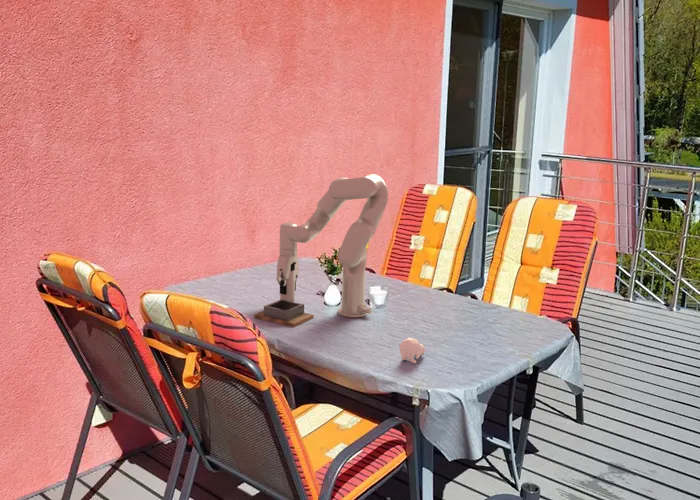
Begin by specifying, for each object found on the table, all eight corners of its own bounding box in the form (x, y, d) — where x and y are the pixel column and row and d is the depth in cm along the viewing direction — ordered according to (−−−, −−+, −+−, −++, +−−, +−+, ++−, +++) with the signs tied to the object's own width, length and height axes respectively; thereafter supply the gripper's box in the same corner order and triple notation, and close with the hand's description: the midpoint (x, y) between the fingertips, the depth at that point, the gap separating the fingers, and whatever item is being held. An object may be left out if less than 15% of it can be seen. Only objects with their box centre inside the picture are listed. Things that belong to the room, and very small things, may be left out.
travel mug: (292, 309, 290) (293, 264, 286) (278, 307, 292) (278, 263, 287) (297, 305, 296) (297, 260, 292) (282, 303, 298) (283, 259, 293)
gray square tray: (304, 313, 280) (304, 304, 279) (287, 321, 270) (287, 311, 269) (280, 308, 286) (280, 299, 285) (263, 315, 276) (263, 306, 275)
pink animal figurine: (398, 337, 233) (416, 332, 243) (396, 361, 235) (414, 355, 244) (414, 341, 230) (431, 336, 239) (412, 366, 231) (429, 359, 241)
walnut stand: (313, 318, 279) (313, 314, 279) (294, 327, 267) (294, 323, 267) (274, 309, 289) (274, 306, 289) (254, 318, 277) (254, 314, 277)
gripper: (292, 247, 298) (292, 286, 302) (269, 254, 283) (268, 295, 287) (306, 249, 294) (306, 289, 298) (283, 256, 280) (283, 298, 283)
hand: (287, 291), depth 292 cm, fingers closed on travel mug, 6 cm apart
